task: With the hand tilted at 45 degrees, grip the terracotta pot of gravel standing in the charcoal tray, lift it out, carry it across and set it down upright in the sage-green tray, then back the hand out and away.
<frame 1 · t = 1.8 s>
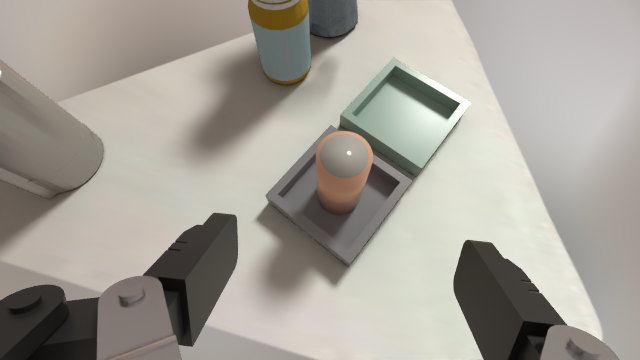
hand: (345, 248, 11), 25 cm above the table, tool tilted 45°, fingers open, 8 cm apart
gravel pot: (338, 193, 38), point 1 cm above the table, touching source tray
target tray: (401, 119, 42), on the table
moka pot: (332, 19, 50), on the table
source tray: (338, 195, 38), on the table
bottle: (287, 68, 46), on the table
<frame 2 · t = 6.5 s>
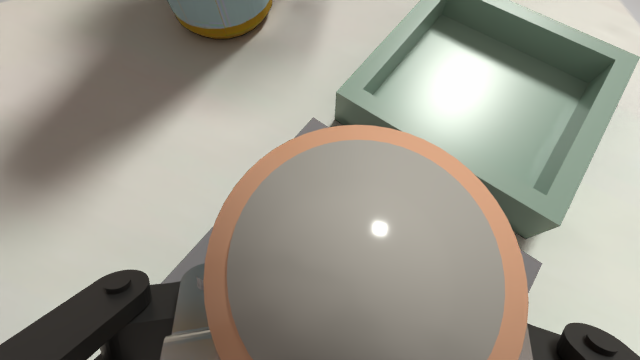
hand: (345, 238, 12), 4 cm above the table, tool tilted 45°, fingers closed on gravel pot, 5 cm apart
gravel pot: (337, 295, 14), point 1 cm above the table, touching gripper, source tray
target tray: (471, 103, 19), on the table
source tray: (336, 296, 15), on the table
bottle: (227, 11, 23), on the table
when the fingers open (6 cm above the table, at t = 11.5 s): gravel pot drops 2 cm, resting on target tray.
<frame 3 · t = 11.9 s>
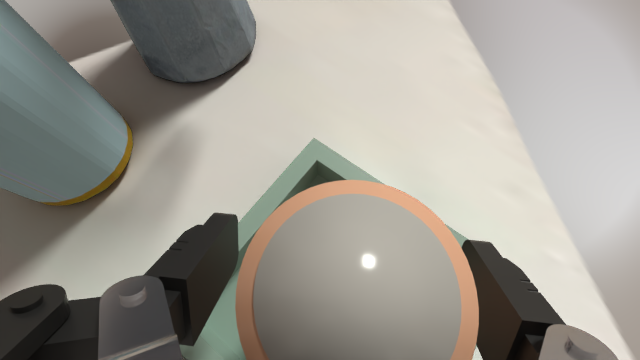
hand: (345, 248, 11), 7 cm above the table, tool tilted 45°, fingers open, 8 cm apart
gravel pot: (335, 300, 16), point 1 cm above the table, touching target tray
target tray: (335, 298, 17), on the table
moka pot: (206, 43, 24), on the table
bottle: (85, 159, 20), on the table
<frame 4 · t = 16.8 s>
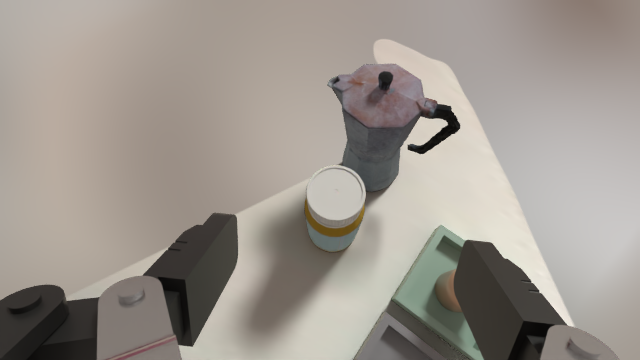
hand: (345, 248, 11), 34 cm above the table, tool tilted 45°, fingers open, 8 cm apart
gravel pot: (454, 291, 42), point 1 cm above the table, touching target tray
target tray: (452, 290, 42), on the table
moka pot: (371, 166, 50), on the table
bottle: (332, 229, 46), on the table
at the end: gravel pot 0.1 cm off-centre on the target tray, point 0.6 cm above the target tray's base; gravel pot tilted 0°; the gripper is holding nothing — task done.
